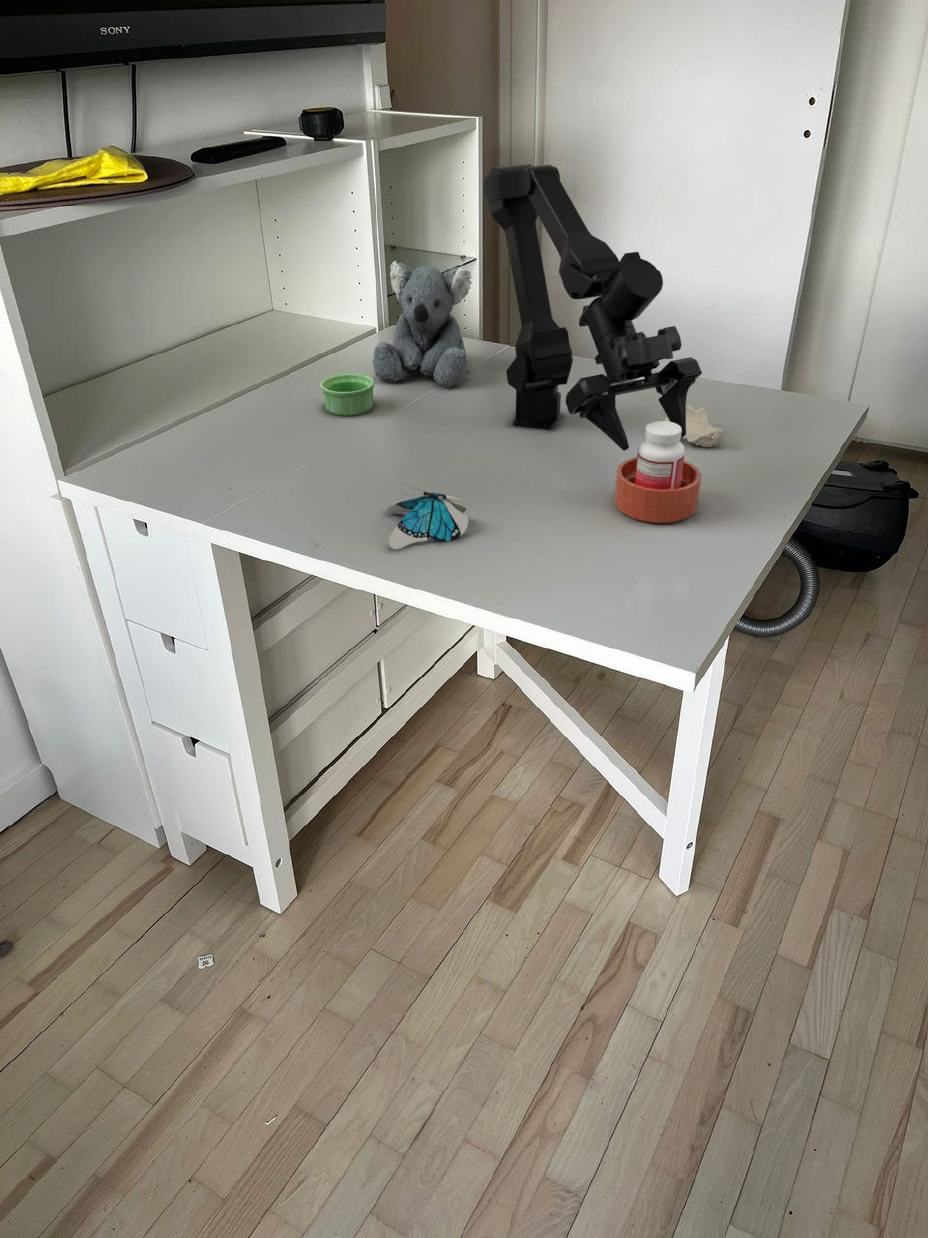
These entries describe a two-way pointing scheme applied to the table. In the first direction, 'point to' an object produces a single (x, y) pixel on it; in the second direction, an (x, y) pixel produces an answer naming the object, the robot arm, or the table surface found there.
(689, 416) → the coral
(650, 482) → the pill bottle
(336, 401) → the ramekin
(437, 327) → the koala plush
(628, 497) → the bowl
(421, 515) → the decorative butterfly
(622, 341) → the robot arm
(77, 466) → the table surface
